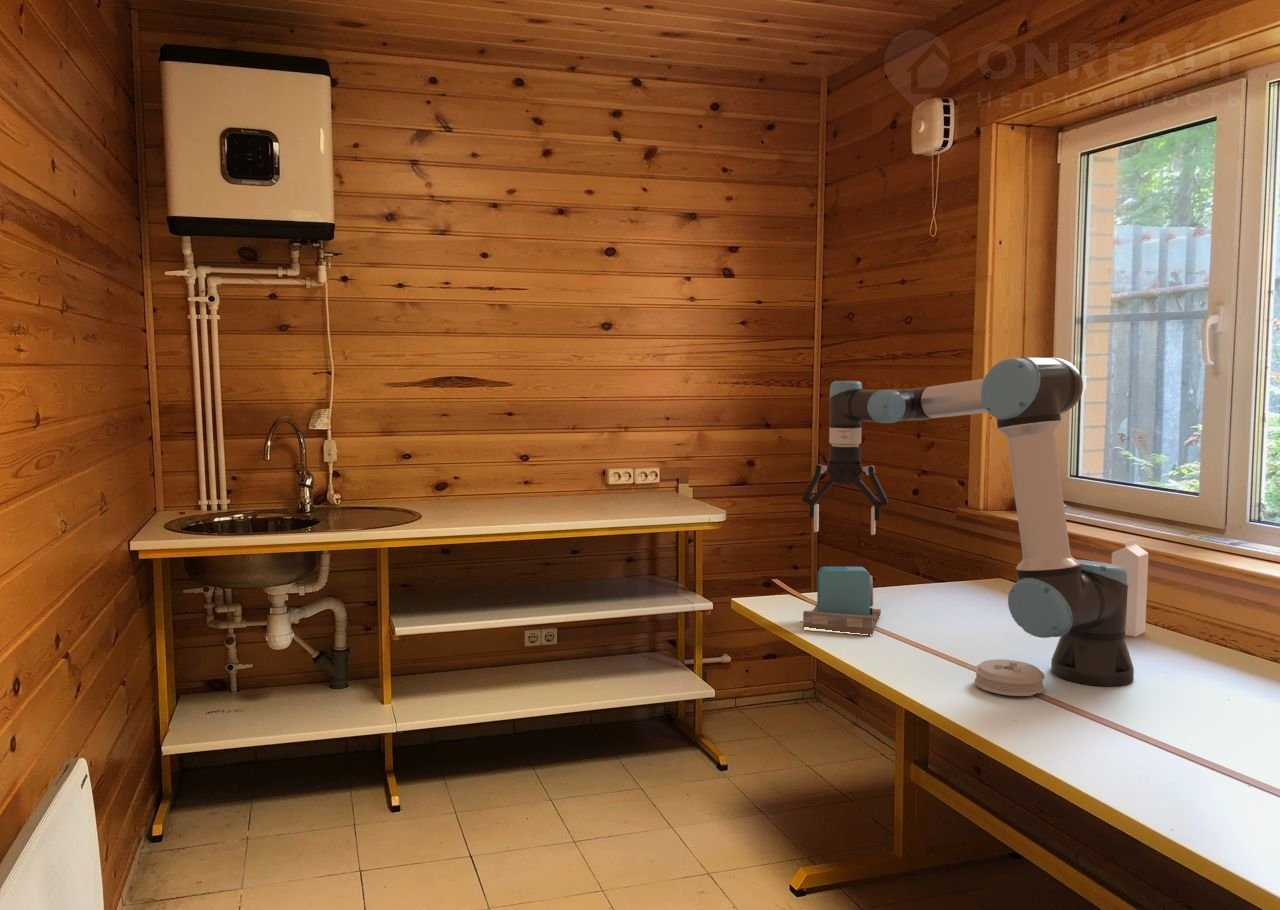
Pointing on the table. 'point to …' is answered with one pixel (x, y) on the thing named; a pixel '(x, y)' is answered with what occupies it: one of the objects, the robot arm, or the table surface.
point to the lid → (1009, 677)
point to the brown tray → (841, 621)
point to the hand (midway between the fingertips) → (844, 532)
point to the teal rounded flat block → (843, 590)
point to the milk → (1134, 584)
